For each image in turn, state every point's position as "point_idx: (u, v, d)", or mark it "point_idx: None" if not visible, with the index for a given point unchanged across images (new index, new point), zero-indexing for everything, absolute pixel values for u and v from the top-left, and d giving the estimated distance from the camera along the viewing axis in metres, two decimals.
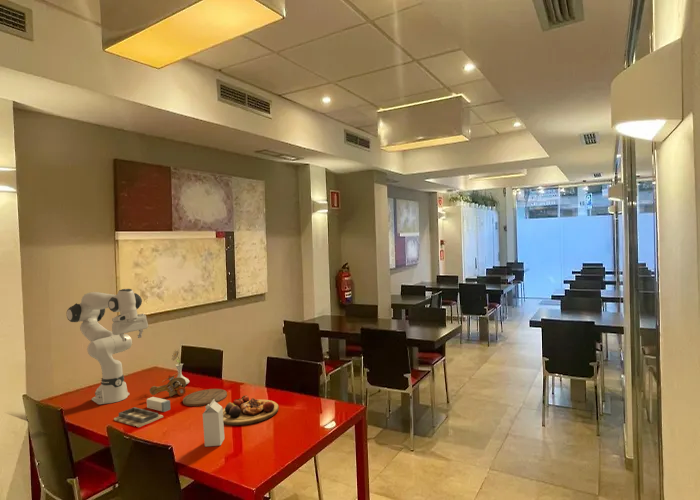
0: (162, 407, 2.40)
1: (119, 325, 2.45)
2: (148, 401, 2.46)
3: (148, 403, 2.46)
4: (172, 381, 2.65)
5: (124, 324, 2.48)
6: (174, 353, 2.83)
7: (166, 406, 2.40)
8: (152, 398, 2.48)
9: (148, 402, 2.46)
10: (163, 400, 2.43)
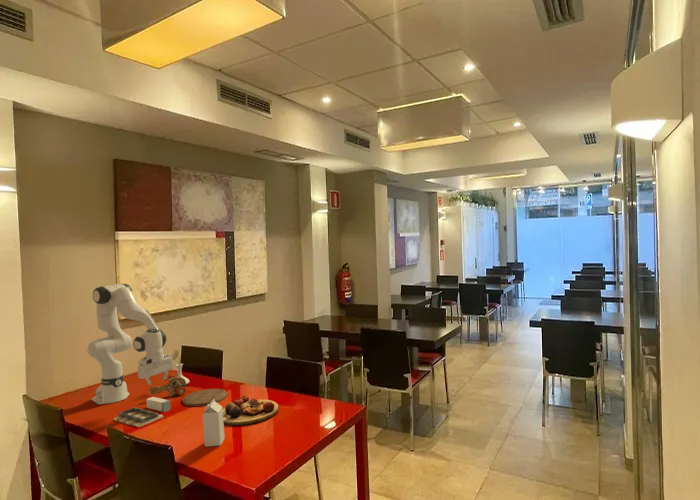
0: (162, 407, 2.40)
1: (145, 369, 2.37)
2: (148, 401, 2.46)
3: (148, 403, 2.46)
4: (172, 381, 2.65)
5: (150, 367, 2.40)
6: (174, 353, 2.83)
7: (166, 406, 2.40)
8: (152, 398, 2.48)
9: (148, 402, 2.46)
10: (163, 400, 2.43)
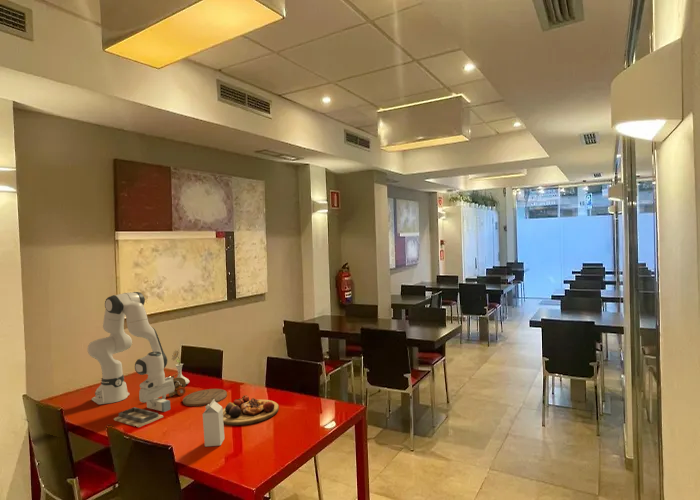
0: (162, 407, 2.40)
1: (146, 392, 2.37)
2: (148, 401, 2.46)
3: (148, 403, 2.46)
4: None
5: (151, 390, 2.40)
6: (174, 353, 2.83)
7: (166, 406, 2.40)
8: None
9: (148, 402, 2.46)
10: (163, 400, 2.43)
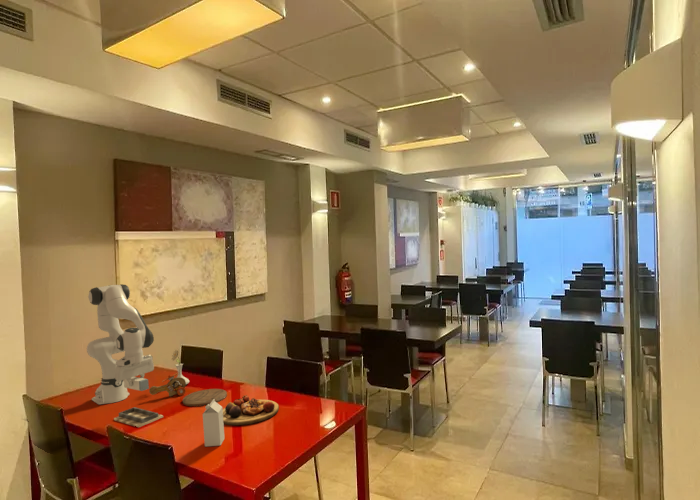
0: (140, 386, 2.26)
1: (122, 370, 2.23)
2: (125, 380, 2.33)
3: (125, 382, 2.33)
4: (172, 381, 2.65)
5: (128, 368, 2.26)
6: (174, 353, 2.83)
7: (144, 385, 2.26)
8: None
9: (125, 381, 2.33)
10: (141, 379, 2.29)
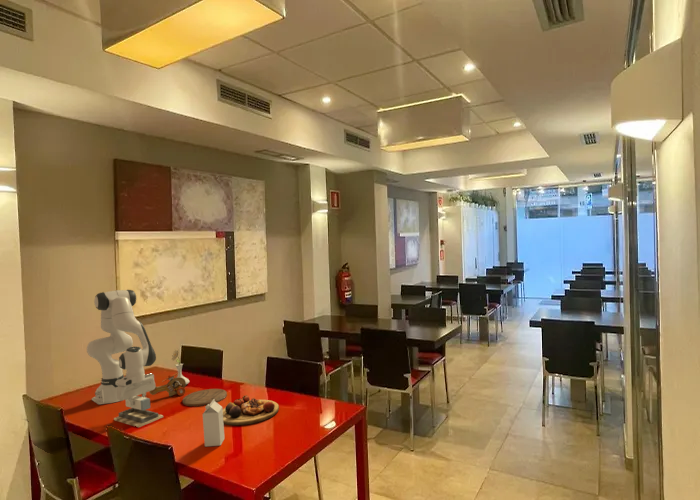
0: (141, 405, 2.26)
1: (124, 390, 2.23)
2: (127, 399, 2.33)
3: (127, 401, 2.33)
4: (172, 381, 2.65)
5: (130, 388, 2.27)
6: (174, 353, 2.83)
7: (145, 404, 2.26)
8: None
9: (127, 400, 2.33)
10: (142, 398, 2.29)
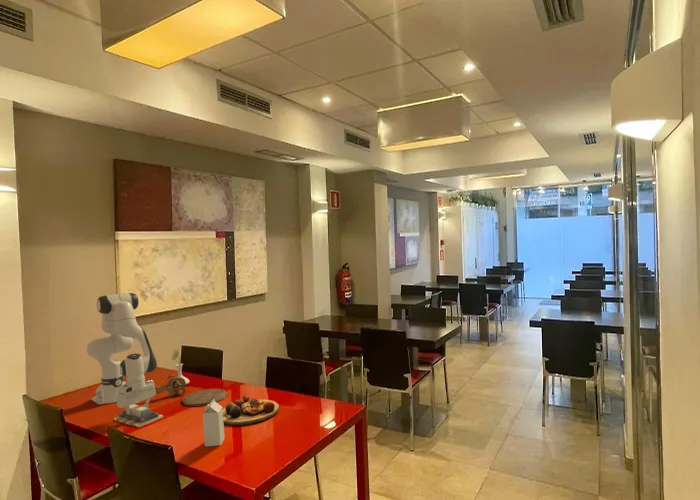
0: (141, 415, 2.26)
1: (124, 397, 2.24)
2: None
3: None
4: (172, 381, 2.65)
5: (130, 395, 2.27)
6: (174, 353, 2.83)
7: (145, 414, 2.27)
8: (132, 406, 2.34)
9: None
10: (143, 408, 2.30)
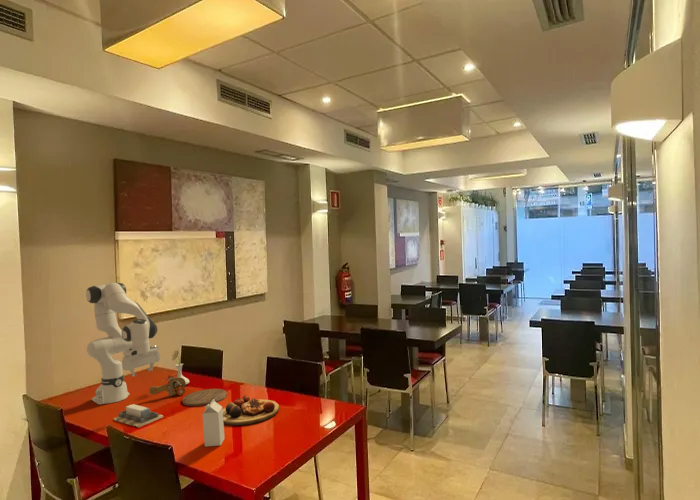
0: (141, 415, 2.26)
1: (129, 360, 2.30)
2: (127, 409, 2.33)
3: (127, 411, 2.33)
4: (172, 381, 2.65)
5: (135, 358, 2.33)
6: (174, 353, 2.83)
7: (145, 414, 2.27)
8: (132, 406, 2.34)
9: (127, 410, 2.33)
10: (143, 408, 2.30)
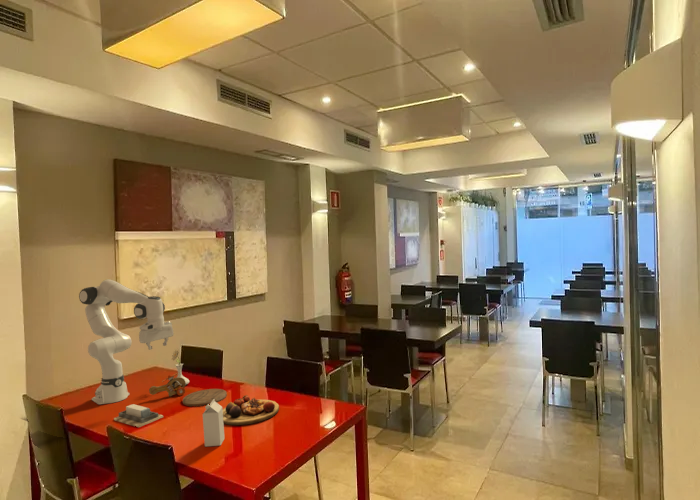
0: (141, 415, 2.26)
1: (146, 334, 2.45)
2: (127, 409, 2.33)
3: (127, 411, 2.33)
4: (172, 381, 2.65)
5: (151, 332, 2.48)
6: (174, 353, 2.83)
7: (145, 414, 2.27)
8: (132, 406, 2.34)
9: (127, 410, 2.33)
10: (143, 408, 2.30)
